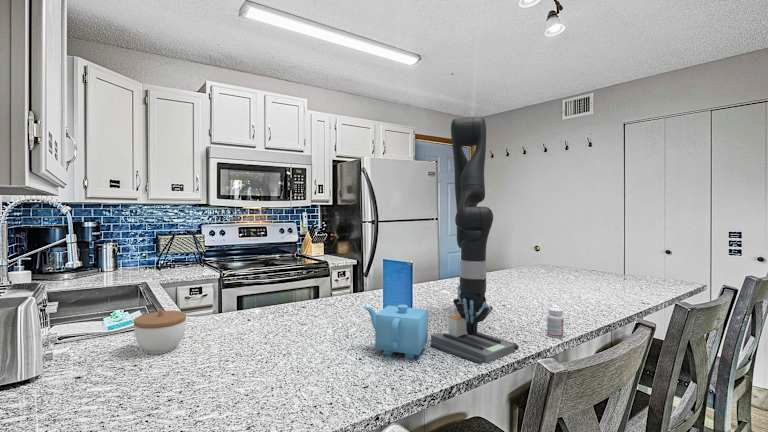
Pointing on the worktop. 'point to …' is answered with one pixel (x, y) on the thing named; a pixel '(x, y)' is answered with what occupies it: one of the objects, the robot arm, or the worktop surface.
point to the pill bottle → (555, 323)
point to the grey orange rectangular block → (457, 326)
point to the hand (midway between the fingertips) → (471, 334)
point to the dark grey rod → (502, 340)
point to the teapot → (400, 329)
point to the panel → (475, 345)
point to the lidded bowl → (159, 330)
